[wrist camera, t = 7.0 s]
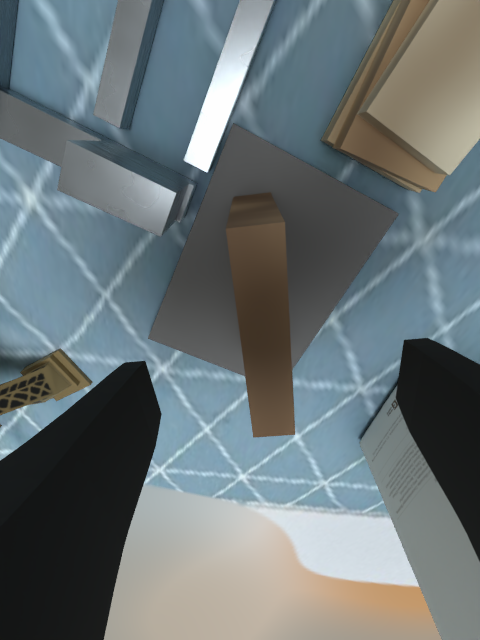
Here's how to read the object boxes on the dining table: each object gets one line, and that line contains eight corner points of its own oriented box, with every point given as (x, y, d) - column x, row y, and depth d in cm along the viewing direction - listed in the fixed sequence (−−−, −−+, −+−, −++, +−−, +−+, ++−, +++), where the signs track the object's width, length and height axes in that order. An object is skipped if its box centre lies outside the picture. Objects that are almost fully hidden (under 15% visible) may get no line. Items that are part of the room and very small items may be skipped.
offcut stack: (538, -7, 11) (643, -61, 8) (404, 192, 14) (446, 204, 11) (434, -88, 10) (510, -181, 7) (316, 142, 14) (336, 142, 11)
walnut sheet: (270, 192, 14) (285, 222, 9) (280, 348, 18) (294, 434, 13) (233, 196, 14) (225, 228, 9) (251, 350, 18) (253, 437, 13)
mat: (394, 211, 15) (398, 213, 14) (278, 383, 20) (278, 389, 19) (233, 123, 13) (233, 122, 13) (150, 333, 18) (147, 338, 18)
